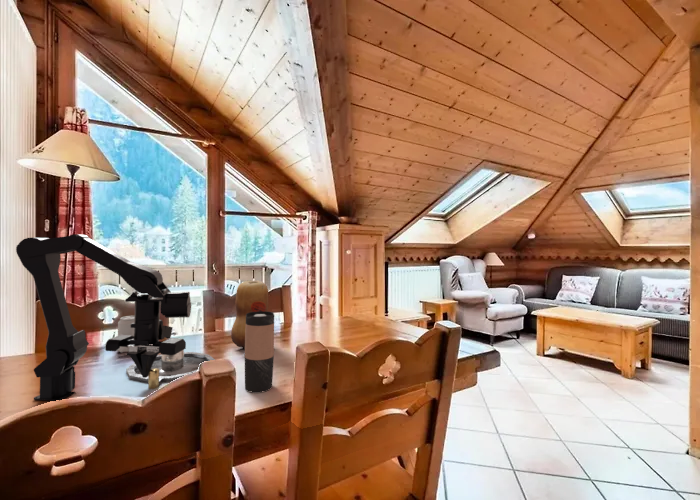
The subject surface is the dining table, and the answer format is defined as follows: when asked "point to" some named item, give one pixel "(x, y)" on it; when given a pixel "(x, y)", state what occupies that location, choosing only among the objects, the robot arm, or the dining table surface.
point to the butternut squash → (248, 307)
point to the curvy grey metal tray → (159, 375)
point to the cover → (172, 361)
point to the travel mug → (259, 351)
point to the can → (125, 329)
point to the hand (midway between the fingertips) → (145, 377)
